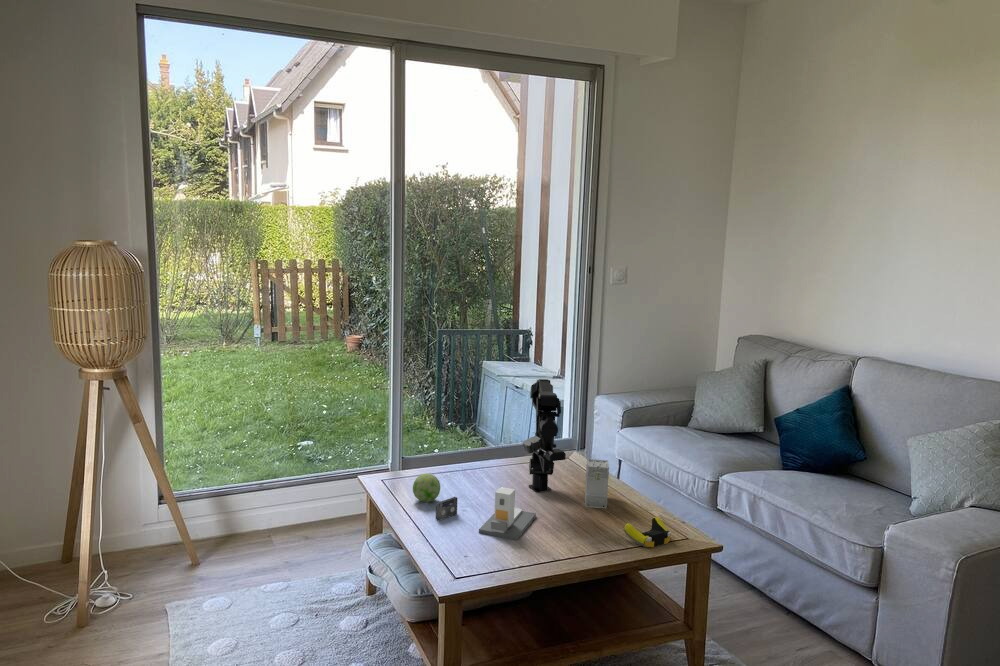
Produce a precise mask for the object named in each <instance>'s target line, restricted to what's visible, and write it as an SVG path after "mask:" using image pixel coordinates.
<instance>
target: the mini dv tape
mask: <svg viewBox="0 0 1000 666" xmlns="http://www.w3.org/2000/svg"><path fill="white" fill-rule="evenodd" d="M455 514H456V515H457V514H458V497H457V496H453V497H450V498H447V499H444V500H442V501H438V502H436V504H435V520H436V519H437V521H438V520H439V521H441V519H442V520H444V518H445V519H447V518H450V517H453V516H455ZM452 515H453V516H452ZM449 516H450V517H449Z"/></svg>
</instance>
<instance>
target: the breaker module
mask: <svg viewBox="0 0 1000 666" xmlns="http://www.w3.org/2000/svg"><path fill="white" fill-rule="evenodd" d="M515 499H516V489H514V488H508V487H502V486H501V487H499V488H498V489H497V490H496V491H495V493H494V513H495V516H494V520H495V521H501V522H506V523H507V527H508V529H509V528H510V527H511V526H512V525H513V522H514V508H515Z"/></svg>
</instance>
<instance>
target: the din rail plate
mask: <svg viewBox="0 0 1000 666" xmlns="http://www.w3.org/2000/svg"><path fill="white" fill-rule="evenodd" d="M494 516H495V512H494V513H493V514H492V515H491V516H490V517H489V518H488V519H487V520H486V521H485V522H484V523H483V524H482V526H481V527H480V528H479V529H478V534H482V533H483V534H484V535H489V536H493V537H498V538H504V539H510V540H514V541H518V540H519V539H520V537H521V536H522V535H521V534H523V533H525V531H526V530H527V528H528V527H529V526H530V525H531V524H532V522H533V521H534V520H535V518H536V517H537V513H535V512H531V511H527V510H526V511H525V510H523V509H522V508H519V507H514V522H513V525H512V526H511V527H510V528H509V529H508V527H507V523H506V522H501V521H495V520H494Z"/></svg>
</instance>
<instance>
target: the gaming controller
mask: <svg viewBox="0 0 1000 666" xmlns="http://www.w3.org/2000/svg"><path fill="white" fill-rule="evenodd" d="M623 531H624V533H625V535H626V536H627V537H628V538H629V539H631V540H632V541H633V542H635V543H637V544H638V545H639V546H640V547H642V546H643V547H642V548H654V547H658V545H659V546H661V545H665V544H668V543H669V542H670V540H671V534H672V532H671V530H668V528H667V527H666V525H665V524H664V522H663V520H662V519H661V518H660V517H658V516H657V517H656V516H654V517H652V519H651V528H650V530H648V531H644V532H640V531H639V530H638V529H636V527H635V526H633V525H632V524H631V523H626V524H625V525H624V529H623Z"/></svg>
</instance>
